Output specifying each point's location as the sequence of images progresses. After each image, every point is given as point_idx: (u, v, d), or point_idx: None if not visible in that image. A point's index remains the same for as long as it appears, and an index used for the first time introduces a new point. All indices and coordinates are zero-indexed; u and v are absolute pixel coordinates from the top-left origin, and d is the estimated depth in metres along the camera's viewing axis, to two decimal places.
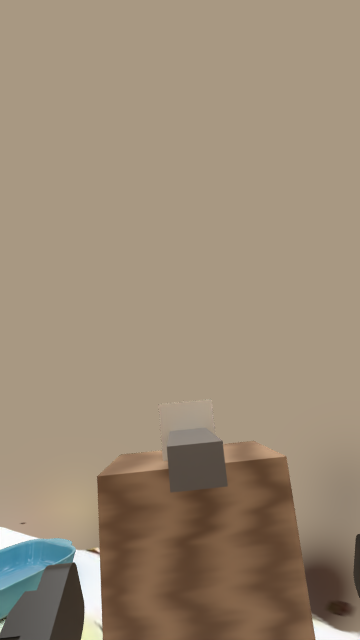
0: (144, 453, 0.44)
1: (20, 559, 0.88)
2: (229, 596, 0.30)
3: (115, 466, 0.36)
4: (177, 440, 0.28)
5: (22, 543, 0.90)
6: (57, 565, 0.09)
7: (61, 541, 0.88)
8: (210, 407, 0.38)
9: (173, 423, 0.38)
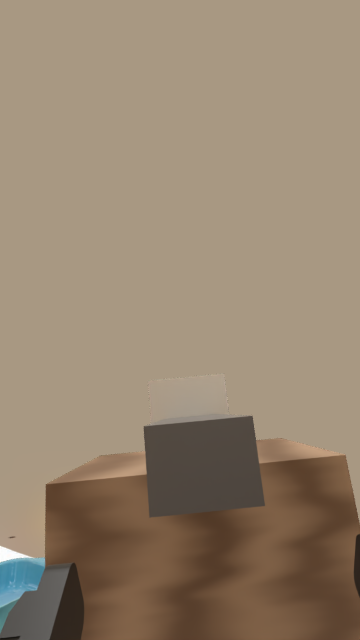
0: (132, 453, 0.33)
1: (1, 582, 0.76)
2: None
3: (83, 470, 0.25)
4: None
5: (3, 562, 0.78)
6: (57, 565, 0.09)
7: None
8: (223, 385, 0.27)
9: (169, 408, 0.26)
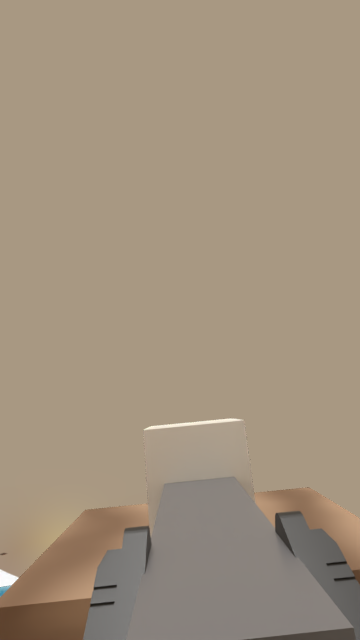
0: (124, 510, 0.26)
1: None
2: None
3: (54, 557, 0.18)
4: (173, 562, 0.09)
5: None
6: (135, 527, 0.10)
7: None
8: (243, 436, 0.20)
9: (171, 468, 0.20)
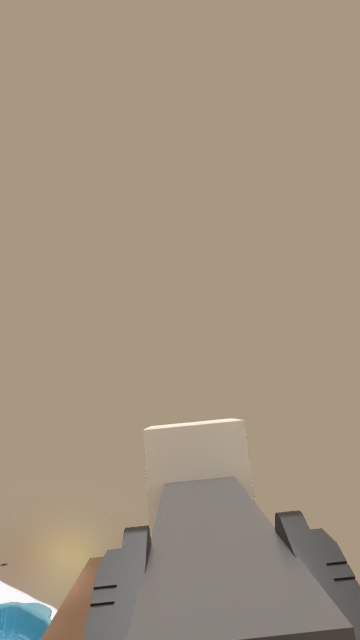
0: None
1: None
2: None
3: (62, 630, 0.18)
4: (173, 562, 0.09)
5: None
6: (135, 527, 0.10)
7: (39, 609, 0.69)
8: (242, 436, 0.20)
9: (171, 468, 0.20)
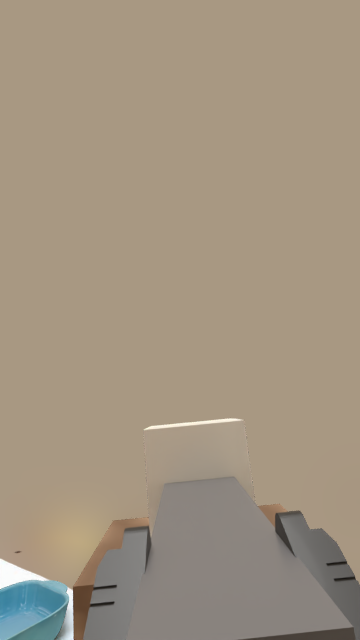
0: (142, 521, 0.35)
1: (12, 604, 0.79)
2: None
3: (102, 556, 0.27)
4: (173, 562, 0.09)
5: (15, 585, 0.81)
6: (134, 527, 0.10)
7: (56, 585, 0.78)
8: (242, 436, 0.20)
9: (171, 468, 0.20)
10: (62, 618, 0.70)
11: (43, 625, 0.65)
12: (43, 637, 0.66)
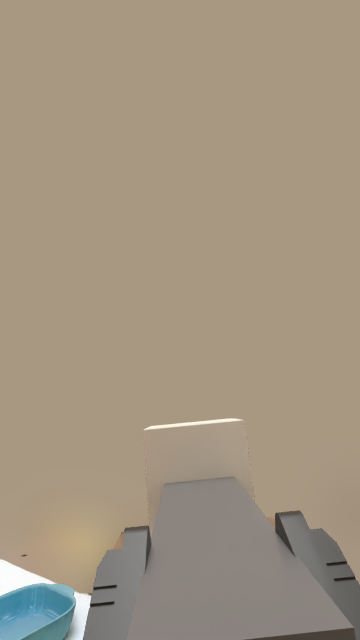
0: None
1: (22, 606, 0.83)
2: None
3: None
4: (173, 562, 0.09)
5: (24, 588, 0.85)
6: (135, 527, 0.10)
7: (63, 589, 0.82)
8: (242, 436, 0.20)
9: (171, 468, 0.20)
10: (69, 620, 0.73)
11: (52, 627, 0.69)
12: (52, 638, 0.69)
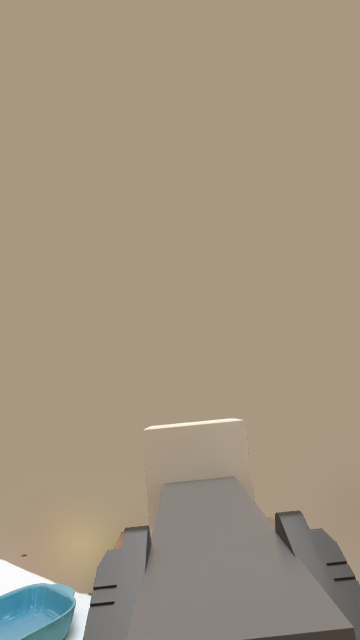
0: None
1: (23, 606, 0.83)
2: None
3: None
4: (173, 562, 0.09)
5: (25, 588, 0.85)
6: (135, 527, 0.10)
7: (64, 589, 0.82)
8: (242, 436, 0.20)
9: (171, 468, 0.20)
10: (69, 621, 0.73)
11: (51, 627, 0.69)
12: (51, 638, 0.69)
